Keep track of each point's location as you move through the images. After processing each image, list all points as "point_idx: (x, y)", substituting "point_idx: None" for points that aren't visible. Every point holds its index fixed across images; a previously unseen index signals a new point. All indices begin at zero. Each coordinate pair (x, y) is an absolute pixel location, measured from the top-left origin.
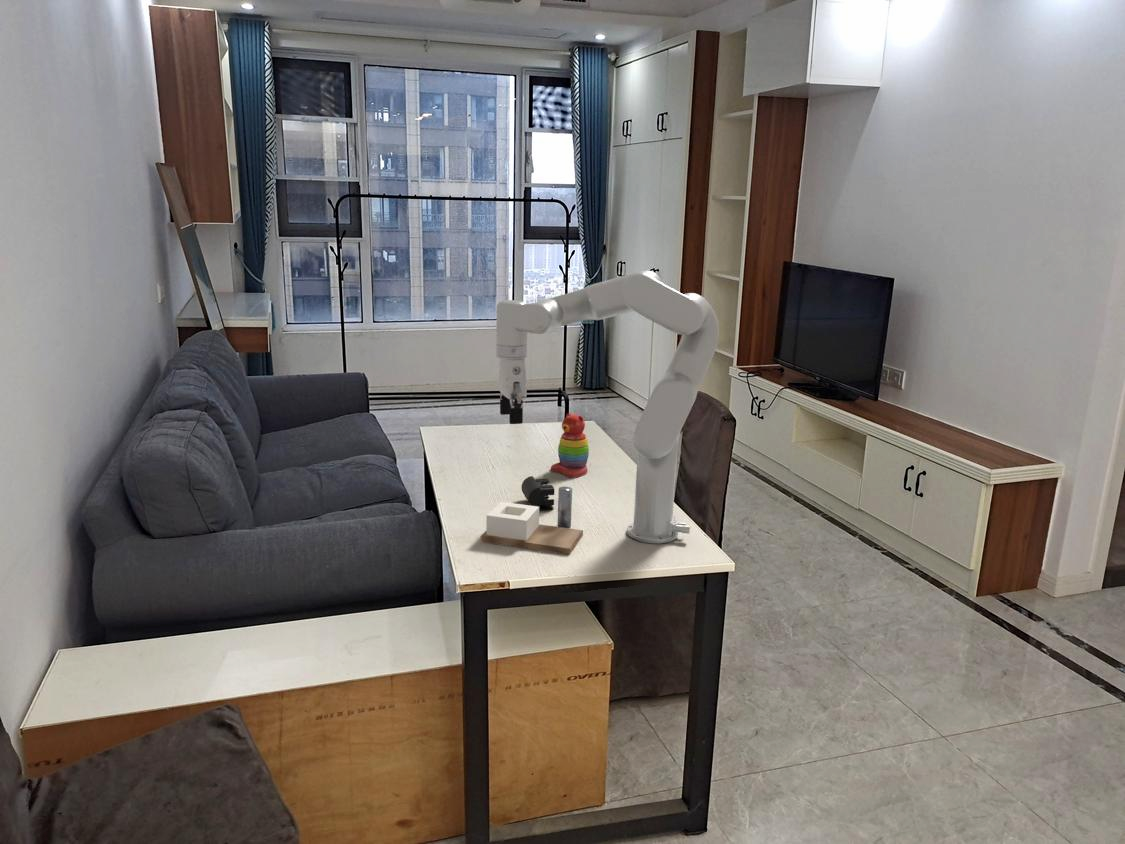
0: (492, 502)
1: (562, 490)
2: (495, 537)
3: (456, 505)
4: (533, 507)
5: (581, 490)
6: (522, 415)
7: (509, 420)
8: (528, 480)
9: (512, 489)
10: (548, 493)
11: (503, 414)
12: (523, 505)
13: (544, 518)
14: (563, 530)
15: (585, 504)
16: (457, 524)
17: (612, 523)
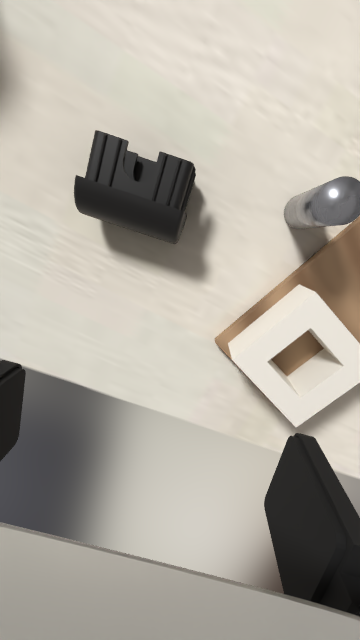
0: (86, 287)
1: (349, 219)
2: None
3: (75, 364)
4: (312, 308)
5: (87, 2)
6: (338, 481)
7: (270, 523)
8: (99, 203)
9: (16, 198)
10: (190, 185)
11: (16, 423)
12: (285, 324)
13: (232, 228)
14: (356, 247)
15: (196, 64)
16: (176, 405)
17: (353, 76)
